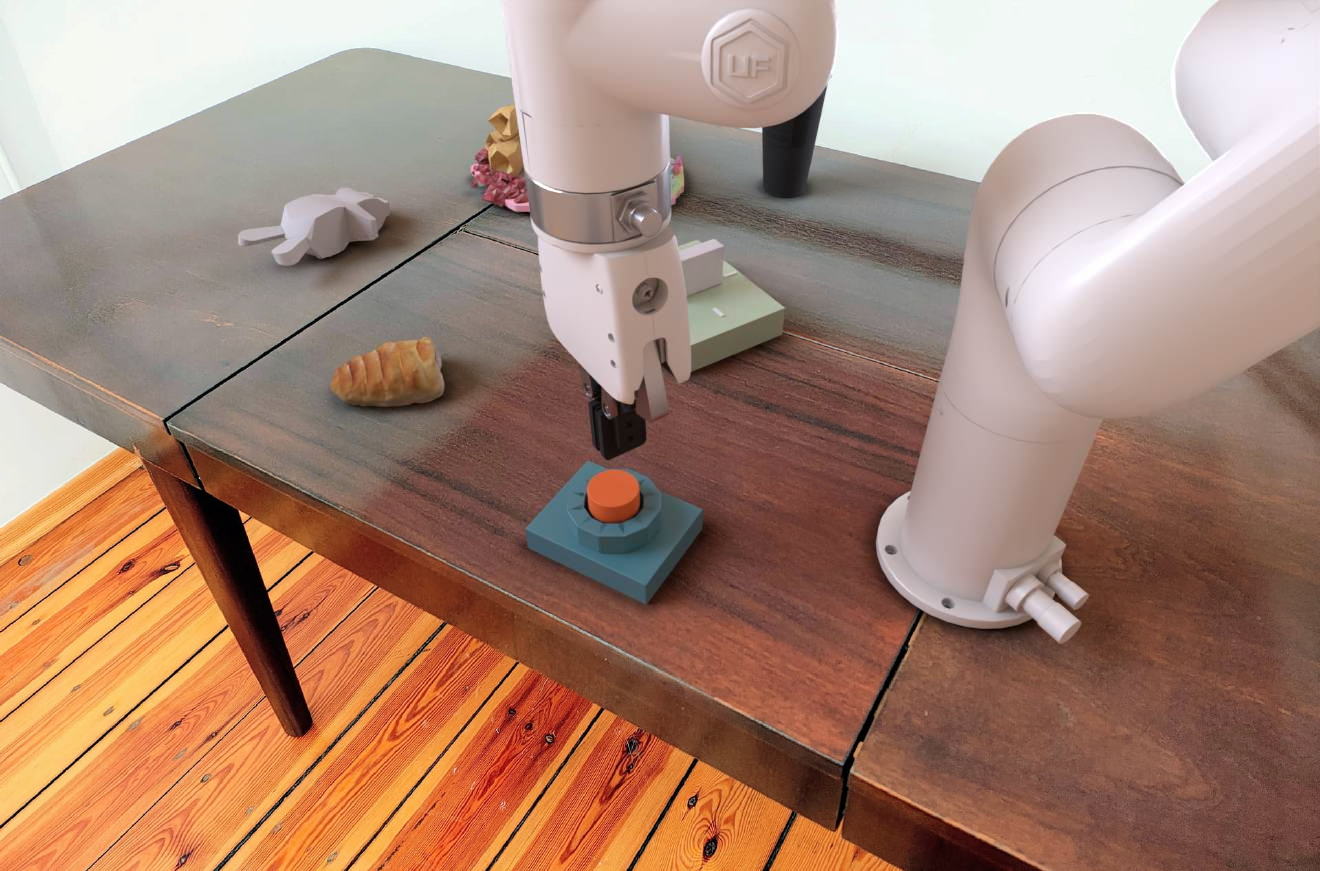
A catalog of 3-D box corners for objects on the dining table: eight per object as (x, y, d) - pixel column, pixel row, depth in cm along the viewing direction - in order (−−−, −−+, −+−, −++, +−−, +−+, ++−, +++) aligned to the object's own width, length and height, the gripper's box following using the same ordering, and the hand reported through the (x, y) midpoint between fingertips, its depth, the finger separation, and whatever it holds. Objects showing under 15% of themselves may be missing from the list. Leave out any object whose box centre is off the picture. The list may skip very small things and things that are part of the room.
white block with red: (712, 275, 88) (714, 235, 85) (722, 283, 87) (724, 243, 84) (659, 295, 85) (658, 255, 82) (668, 303, 84) (668, 263, 81)
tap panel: (782, 334, 86) (785, 306, 84) (683, 375, 82) (683, 346, 79) (697, 265, 95) (697, 237, 92) (603, 298, 90) (601, 271, 88)
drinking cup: (829, 182, 107) (853, -1, 94) (799, 210, 102) (820, 23, 89) (770, 166, 110) (784, -14, 97) (738, 192, 106) (749, 8, 92)
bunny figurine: (405, 194, 97) (284, 241, 87) (410, 239, 100) (294, 289, 90) (344, 170, 101) (222, 212, 91) (351, 214, 104) (233, 260, 94)
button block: (702, 529, 68) (704, 491, 66) (646, 605, 63) (645, 568, 61) (589, 480, 72) (586, 442, 69) (527, 548, 67) (522, 511, 64)
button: (649, 498, 66) (649, 480, 65) (622, 531, 64) (621, 514, 62) (606, 479, 67) (605, 462, 66) (578, 511, 65) (576, 494, 64)
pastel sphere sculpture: (434, 198, 105) (419, 119, 98) (541, 117, 120) (535, 44, 114) (633, 248, 97) (630, 166, 91) (720, 155, 112) (723, 78, 106)
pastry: (337, 423, 77) (326, 388, 75) (332, 375, 82) (321, 340, 79) (451, 400, 79) (443, 364, 77) (439, 354, 84) (432, 319, 81)
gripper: (741, 230, 46) (732, 490, 58) (591, 124, 55) (611, 367, 68) (609, 279, 43) (630, 541, 55) (475, 158, 52) (518, 405, 65)
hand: (619, 445), depth 61 cm, fingers closed
